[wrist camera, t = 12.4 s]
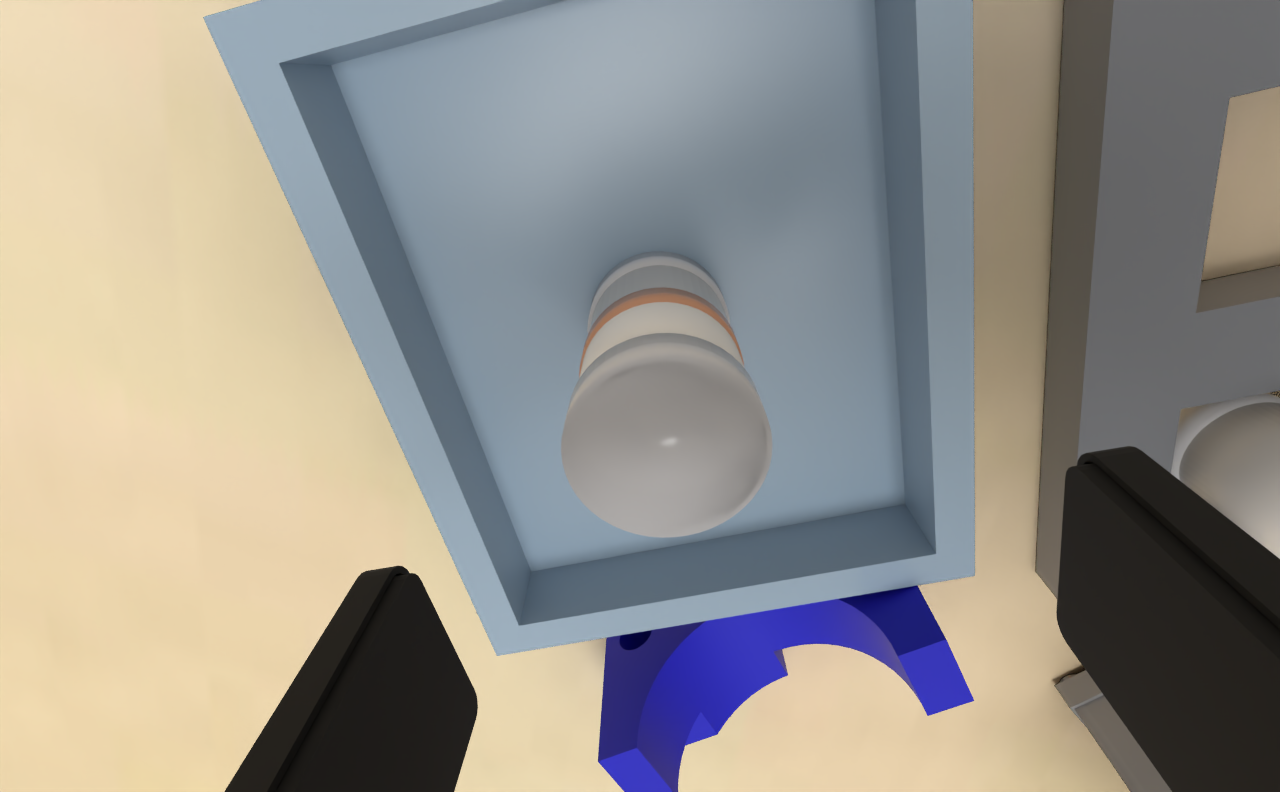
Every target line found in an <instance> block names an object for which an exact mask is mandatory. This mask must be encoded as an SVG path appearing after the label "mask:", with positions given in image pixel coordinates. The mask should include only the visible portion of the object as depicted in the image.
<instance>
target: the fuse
mask: <svg viewBox="0 0 1280 792" xmlns="http://www.w3.org/2000/svg"><path fill="white" fill-rule="evenodd" d="M1171 474H1172V475H1173V476H1175V477H1176V478H1177V479H1179V480H1180V481H1181V482H1182V483H1184V484H1185V485H1186V486H1187V487H1189V488H1190V489H1191V490H1193V491H1194V492H1195V493H1196V494H1198V495H1199V496H1200V497H1201V498H1203V499H1204V500H1205V501H1207V502H1208V503H1209V504H1210V505H1212V506H1213V507H1214V508H1216V509H1217V510H1218V511H1219V512H1221V513H1222V514H1223V515H1224V516H1226V517H1227V518H1228V519H1230V520H1231V521H1232V522H1233V523H1235V524H1236V525H1237V526H1239V527H1240V528H1241V529H1242V530H1244V531H1245V532H1246V533H1247V534H1249V535H1250V536H1251V537H1253V538H1254V539H1255V540H1256V541H1258V542H1259V543H1260V544H1261V545H1263V546H1264V547H1265V548H1267V549H1268V550H1269V551H1270V552H1272V553H1273V554H1274V555H1276V556H1277V557H1278V558H1279V559H1280V397H1278V396H1276V395H1274V394H1272V393H1265V394H1259V395H1254V396H1249V397H1243V398H1238V399H1233V400H1227V401H1222V402H1217V403H1211V404H1206V405H1201V406H1195V407H1190V408H1185V409H1181V412H1180V418H1179V425H1178V431H1177V437H1176V444H1175V450H1174V457H1173V463H1172V469H1171Z"/></svg>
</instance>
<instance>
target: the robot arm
mask: <svg viewBox="0 0 1280 792" xmlns="http://www.w3.org/2000/svg"><path fill="white" fill-rule="evenodd" d="M1057 621H1058V625H1059V628H1060V631H1061V633H1062V635H1063V638H1064V639H1065V641H1066V642H1067V644H1068V645H1069V647H1070V648H1071V650H1072V651H1073V653H1074V654H1075V655H1076V657H1077V658H1078V660H1079V661H1080V662H1081V664H1082V665H1083V667H1084V668H1085V669H1086V671H1087V672H1088V674H1089V675H1090V677H1091V678H1092V679H1093V681H1094V682H1095V684H1096V685H1097V686H1098V688H1099V689H1100V691H1101V692H1102V693H1103V695H1104V696H1105V698H1106V699H1107V701H1108V702H1109V703H1110V705H1111V706H1112V708H1113V709H1114V710H1115V712H1116V713H1117V715H1118V716H1119V717H1120V719H1121V720H1122V722H1123V723H1124V725H1125V726H1126V727H1127V729H1128V730H1129V732H1130V733H1131V734H1132V736H1133V737H1134V739H1135V740H1136V741H1137V743H1138V744H1139V746H1140V747H1141V749H1142V750H1143V751H1144V753H1145V754H1146V756H1147V757H1148V758H1149V760H1150V761H1151V763H1152V764H1153V765H1154V767H1155V768H1156V770H1157V771H1158V773H1159V774H1160V775H1161V777H1162V778H1163V780H1164V781H1165V782H1166V784H1167V785H1168V787H1169V788H1170V790H1171V791H1172V792H1280V559H1279V558H1278V557H1277V556H1276V555H1274V554H1273V553H1272V552H1270V551H1269V550H1268V549H1267V548H1265V547H1264V546H1263V545H1261V544H1260V543H1259V542H1258V541H1256V540H1255V539H1254V538H1253V537H1251V536H1250V535H1249V534H1247V533H1246V532H1245V531H1244V530H1242V529H1241V528H1240V527H1239V526H1237V525H1236V524H1235V523H1233V522H1232V521H1231V520H1230V519H1228V518H1227V517H1226V516H1224V515H1223V514H1222V513H1221V512H1219V511H1218V510H1217V509H1216V508H1214V507H1213V506H1212V505H1210V504H1209V503H1208V502H1207V501H1205V500H1204V499H1203V498H1201V497H1200V496H1199V495H1198V494H1196V493H1195V492H1194V491H1193V490H1191V489H1190V488H1189V487H1187V486H1186V485H1185V484H1184V483H1182V482H1181V481H1180V480H1179V479H1177V478H1176V477H1175V476H1173V475H1172V474H1171V473H1170V472H1168V471H1167V470H1166V469H1164V468H1163V467H1162V466H1161V465H1159V464H1158V463H1157V462H1156V461H1154V460H1153V459H1152V458H1150V457H1149V456H1148V455H1147V454H1145V453H1144V452H1143V451H1141V450H1140V449H1138V448H1136V447H1133V446H1126V447H1119V448H1113V449H1107V450H1101V451H1095V452H1089V453H1085V454H1083V455H1081V456H1080V458H1079V459H1078V462H1077V466H1072V467H1070V468H1068V470H1067V471H1066V476H1065V488H1064V504H1063V520H1062V536H1061V551H1060V567H1059V583H1058V599H1057ZM477 708H478V705H477V696H476V693H475V690H474V688H473V686H472V684H471V682H470V680H469V678H468V676H467V673H466V671H465V669H464V667H463V665H462V663H461V661H460V659H459V657H458V655H457V653H456V651H455V649H454V647H453V645H452V643H451V641H450V639H449V637H448V635H447V633H446V630H445V628H444V626H443V624H442V622H441V620H440V618H439V616H438V614H437V612H436V610H435V608H434V606H433V604H432V602H431V600H430V598H429V596H428V594H427V592H426V590H425V587H424V585H423V583H422V581H421V580H420V578H419V576H417V575H416V574H413V573H411V574H410V573H409V572H408V570H407V569H406V568H404V567H403V566H394V567H388V568H382V569H376V570H370V571H365V572H363V573H361V575H360V576H359V577H358V578H357V579H356V581H355V583H354V584H353V586H352V587H351V589H350V591H349V592H348V594H347V596H346V597H345V599H344V600H343V602H342V604H341V605H340V607H339V608H338V610H337V612H336V613H335V615H334V616H333V618H332V620H331V621H330V623H329V624H328V626H327V628H326V629H325V631H324V633H323V634H322V636H321V637H320V639H319V641H318V642H317V644H316V645H315V647H314V649H313V650H312V652H311V653H310V655H309V657H308V658H307V660H306V661H305V663H304V665H303V666H302V668H301V670H300V671H299V673H298V674H297V676H296V678H295V679H294V681H293V682H292V684H291V686H290V687H289V689H288V690H287V692H286V694H285V695H284V697H283V698H282V700H281V702H280V703H279V705H278V706H277V708H276V710H275V711H274V713H273V715H272V716H271V718H270V719H269V721H268V723H267V724H266V726H265V727H264V729H263V731H262V732H261V734H260V735H259V737H258V739H257V740H256V742H255V743H254V745H253V747H252V748H251V750H250V752H249V753H248V755H247V756H246V758H245V760H244V761H243V763H242V764H241V766H240V768H239V769H238V771H237V772H236V774H235V776H234V777H233V779H232V780H231V782H230V784H229V785H228V787H227V789H226V790H225V792H454V790H455V787H456V784H457V780H458V777H459V774H460V770H461V767H462V764H463V760H464V757H465V754H466V750H467V747H468V744H469V740H470V737H471V734H472V730H473V727H474V724H475V720H476V716H477Z"/></svg>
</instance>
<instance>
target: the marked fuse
mask: <svg viewBox="0 0 1280 792" xmlns="http://www.w3.org/2000/svg"><path fill="white" fill-rule="evenodd" d="M587 332H588V335H587V338H586V341H585V345H584V349H583V354H582V358H581V363H580V370H579V380H578V382H577V384H576V386H575V387H574V390H573V393H572V395H571V398H570V402H569V406H568V411H567V415H566V420H565V424H564V429H563V434H562V439H561V456H562V463H563V467H564V471H565V474H566V477H567V479H568V482H569V484H570V486H571V487H572V489H573V491H574V492H575V494H576V495H577V497H578V498H579V499H580V500H581V502H582V503H583V504H584V505H585V506H586V507H587V508H588V509H589V510H590V511H591V512H593V513H594V514H595V515H597V516H598V517H599V518H601V519H602V520H604V521H605V522H607V523H609V524H611V525H612V526H615V527H617V528H619V529H622V530H624V531H627V532H631V533H634V534H638V535H643V536H648V537H660V538H665V537H680V536H688V535H692V534H696V533H700V532H703V531H706V530H709V529H711V528H713V527H716V526H718V525H720V524H722V523H724V522H725V521H727V520H728V519H730V518H732V517H733V516H735V515H736V514H737V513H738V512H739V511H741V510H742V509H743V508H744V507H745V506H746V505H747V504H748V503H749V502H750V501H751V500H752V499H753V497H754V496H755V495H756V493H757V492H758V491H759V489H760V487H761V485H762V484H763V482H764V480H765V478H766V475H767V472H768V470H769V466H770V462H771V457H772V433H771V429H770V425H769V421H768V418H767V415H766V412H765V410H764V407H763V404H762V402H761V399H760V396H759V393H758V391H757V389H756V386H755V384H754V382H753V380H752V378H751V377H750V375H749V373H748V372H747V371H746V370H745V368H744V361H743V357H742V353H741V350H740V347H739V345H738V342H737V339H736V336H735V334H734V332H733V329H732V327H731V326H730V317H729V313H728V309H727V306H726V303H725V301H724V298H723V295H722V293H721V290H720V288H719V286H718V284H717V283H716V281H715V279H714V278H713V277H712V276H711V274H710V273H709V272H708V271H707V270H706V269H705V268H704V267H702V266H701V265H700V264H698V263H697V262H695V261H694V260H692V259H690V258H688V257H685V256H683V255H680V254H676V253H672V252H664V251H652V252H646V253H641V254H638V255H634V256H632V257H630V258H628V259H625V260H624V261H622V262H621V263H619V264H617V265H616V266H615V267H614V268H613V269H611V270H610V271H609V272H608V273H607V275H606V276H605V277H604V278H603V280H602V281H601V282H600V284H599V286H598V288H597V290H596V292H595V294H594V297H593V300H592V305H591V309H590V314H589V318H588V327H587Z"/></svg>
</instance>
